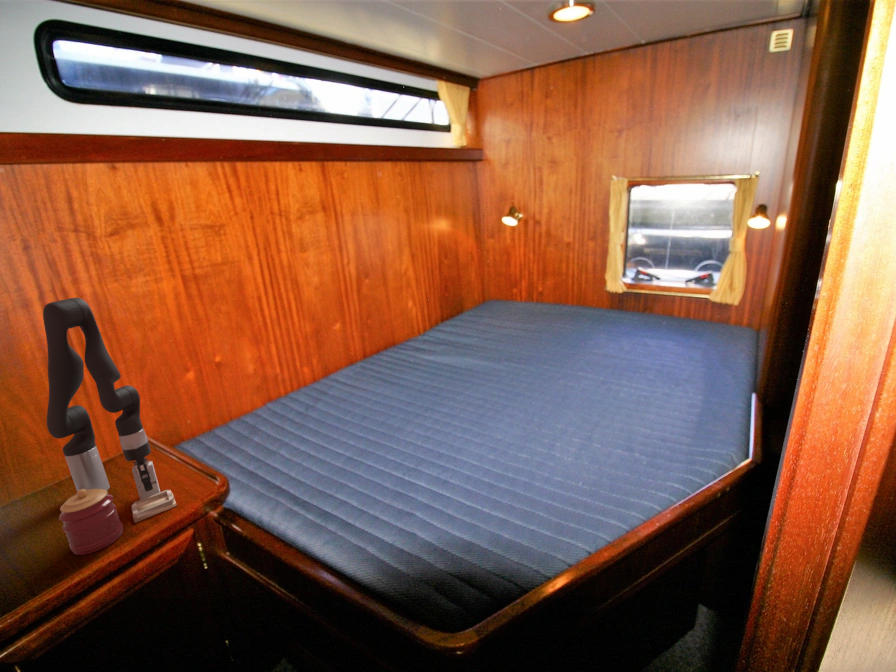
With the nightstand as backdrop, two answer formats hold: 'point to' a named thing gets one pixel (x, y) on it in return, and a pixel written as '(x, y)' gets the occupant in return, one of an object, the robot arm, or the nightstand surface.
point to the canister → (90, 521)
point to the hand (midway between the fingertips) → (148, 485)
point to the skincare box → (140, 485)
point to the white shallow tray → (153, 505)
